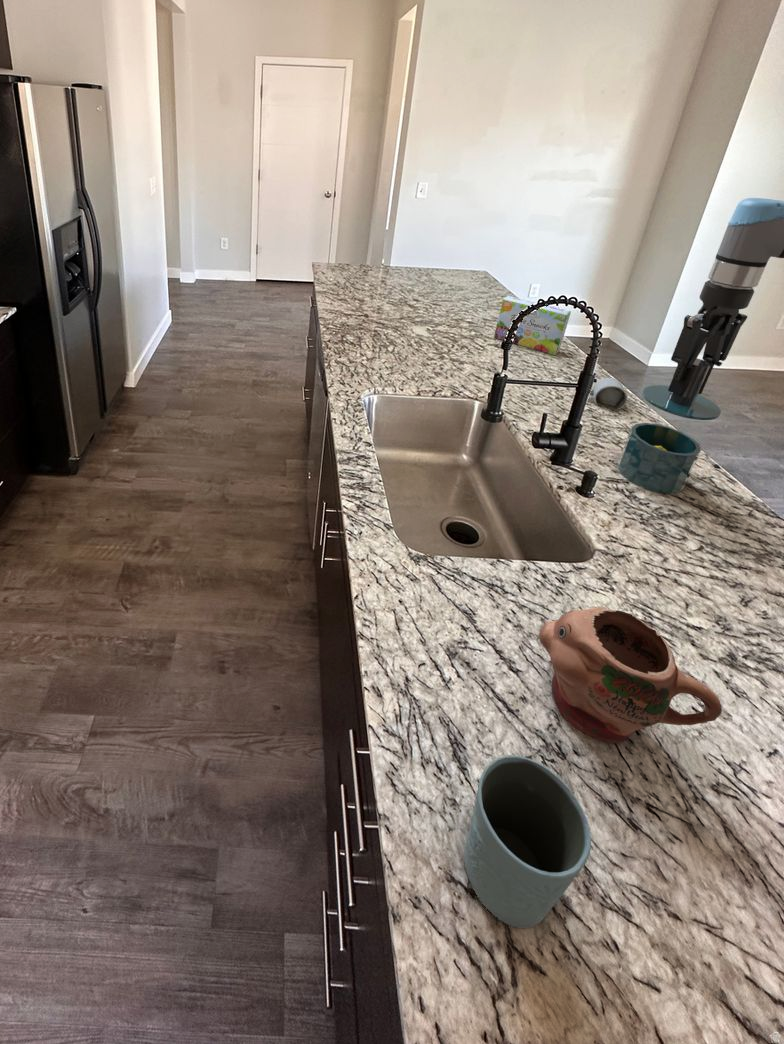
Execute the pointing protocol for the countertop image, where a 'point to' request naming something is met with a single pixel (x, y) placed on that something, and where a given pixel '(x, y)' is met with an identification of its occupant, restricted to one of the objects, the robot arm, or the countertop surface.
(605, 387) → the ceramic mug
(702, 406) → the lid
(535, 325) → the snack box
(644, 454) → the pot
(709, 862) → the countertop surface
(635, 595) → the countertop surface
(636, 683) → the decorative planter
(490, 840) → the teal cup
